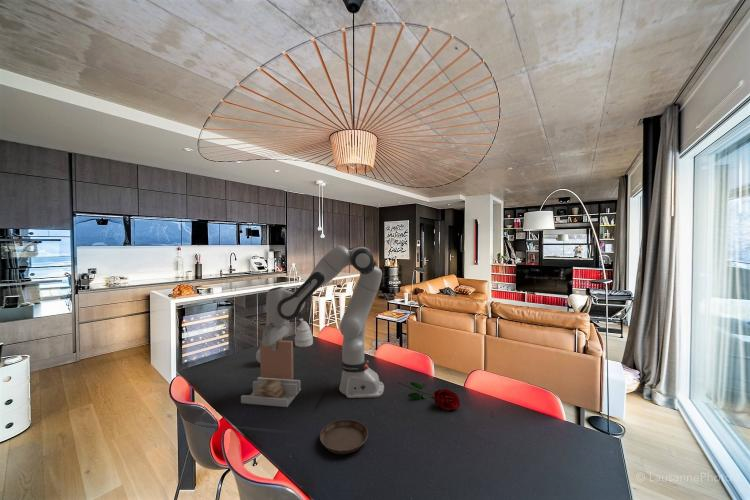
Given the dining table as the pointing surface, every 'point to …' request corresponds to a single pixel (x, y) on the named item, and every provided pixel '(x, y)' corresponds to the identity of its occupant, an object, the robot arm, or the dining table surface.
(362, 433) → the plant saucer
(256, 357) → the ornament
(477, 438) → the dining table surface
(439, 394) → the flower
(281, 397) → the offcut bottom
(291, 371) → the brown square panel
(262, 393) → the offcut middle
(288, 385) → the rack
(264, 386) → the offcut top
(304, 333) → the honey pot
